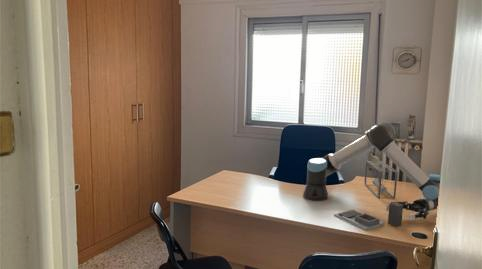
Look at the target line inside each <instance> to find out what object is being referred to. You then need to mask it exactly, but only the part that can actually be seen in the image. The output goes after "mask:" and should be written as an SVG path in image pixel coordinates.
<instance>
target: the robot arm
mask: <svg viewBox="0 0 482 269" xmlns="http://www.w3.org/2000/svg"><path fill="white" fill-rule="evenodd" d="M395 135H396V130H395V128H394V125H392V124H391V123H390V122H389V123H388V122H386V121H385V122H383V121H382V122H380V123H378V124H375V125H373V126H371V128H370V129H368V130H366V131H365V135H363V136H362V137H360V138H358V139H356V140H355V141H353V142H351V143H350V144H348V145H346V146H344V147H343V148H341V149H340V150H337V151H336V152H334V153H332V152H331V153H328V154H326V155H324V156H323V157H315V158H311V159H309V160H308V161H307V165H306V168H307V169H306V170H307V171H306V185H305V187H304V190H303V192H302V196H303V198H305V199H306V200H311V201H326V200H329V193H328V189H327V186H326V184H327V177H328V176H330V175H332V174H334V173H335V172H337V171H339V170H340V169H341V166H343V165H345V164H346V163H348V162H350V161H352V160H353V159H355V158H357V157H359V156H360V155H362V154H364V153H366V152H367V151H369V150H371V149H377V150H378V151H379V152H380V153H382V154H384V155H386V156H387V157H388V159H389V160H391V161H392V162H393V164H394V165H395V166H396V167H397V168H398V169H399V170H400V171H401V172H403V174H404V175H405V176H406V177H407V178H408V179H409V180H410V181H411V183H413V184H414V185H415V186H416V187H417V188H418V190H420V191H421V194H422V195H423V197H422V198H418V199H415V200H414V201H413V202H408V201H407V200H405V201H395V202H396V203H399V204H402V205H403V210H406V211H412V212H413V213H410V214H409V220H410V221H412V220H416V219H422V218H423V219H424V220H426V219H427V216H428V215H429V214H430V212H431V211H434V210H438V209H437V206H438V196H439V183H440V175H441V174H435V173H430V174H428V175H427V174H426V172H424V171H423V170H422V169H421V168H420V167H419V166H418V165H417V164H416V163H415V162H414V161H413V160H412V159H411V158H410V157H409V156H408V155H407V154H406V153H405V152H404V151H403V150H402V149H401V148H400V147H399V146H398V145H397V144H396V143H395V142H396V141H395V139H394V138H395ZM392 202H393V201H391V202H390V203H392ZM385 212H389V204H388V205H386V206H385Z"/></svg>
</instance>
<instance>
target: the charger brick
mask: <svg viewBox="0 0 482 269" xmlns="http://www.w3.org/2000/svg"><path fill="white" fill-rule="evenodd" d="M391 202H392V203H391ZM391 202H390V203H389V204H388V205H389V211H388V216H387V224H388V225H390V226H393V227H395V228H398V227H402V222H403V212H404V211H403V210H404V209H403V205H402V204H399V203H396V202H397V201H391Z"/></svg>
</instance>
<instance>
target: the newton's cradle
mask: <svg viewBox="0 0 482 269" xmlns="http://www.w3.org/2000/svg"><path fill="white" fill-rule="evenodd" d="M376 163H378V165H377V164H376ZM368 164H369V165H370V166H372V167H373V169H374V170H376V172H378V173H376V172H373V173H374V176H375V178H374V179H373V180H372V185H373V186H375V187H376V188H377V189H378V194H377V193H376V192H375V191H374V190H373V189H372V188H371V187H370V185H369V184H367V175H368ZM382 167H383V168H382ZM385 168H386V169H385ZM384 172H385V173H384ZM386 172H387V176H389V173H392V172H393V173H395V175H394V176H395V177H394V188H393V195H392V193H391V192H389V191H388V190H387V187H386V186H385V184H384V183H386V182H387V180H385V178H383V174H384V177H386ZM375 173H376V174H375ZM384 180H385V182H384ZM383 182H384V183H383ZM363 183H364V186H365V187H366V188H367V189H368V190H369V191H370V192H371V193H372V194H373V195H374V196H375V197H376V198H377V199H379V198H381V193H386V194H388V196H382V198H391V199H395V198H396V195H397V194H396V193H397V183H398V171H397V170H396V169H394V168H393V167H391V166H390V165H388V163H385V162H384V161H383V160H380V161H378V160H377V161H376V160H373V161H371V160H366V162H365V171H364V182H363Z"/></svg>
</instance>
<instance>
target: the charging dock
mask: <svg viewBox="0 0 482 269" xmlns="http://www.w3.org/2000/svg"><path fill="white" fill-rule="evenodd" d="M333 216H334V217H335V218H337V219H340V220H342V221H343V222H346V223H348V224H350V225H353V226H354V227H357V228H359V229H361V230H363V231H368V230H371V229H374V228H375V229H376V228H378V227H381V226H384V225H385V223H384V222H383V221H382V220H380V218H378V217H375V216H373V215H371V214H368V213H366V212H365V213H361V212H359V211H357V210H355V209H349V210H346V211H342V212H337V213H334V214H333Z"/></svg>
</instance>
